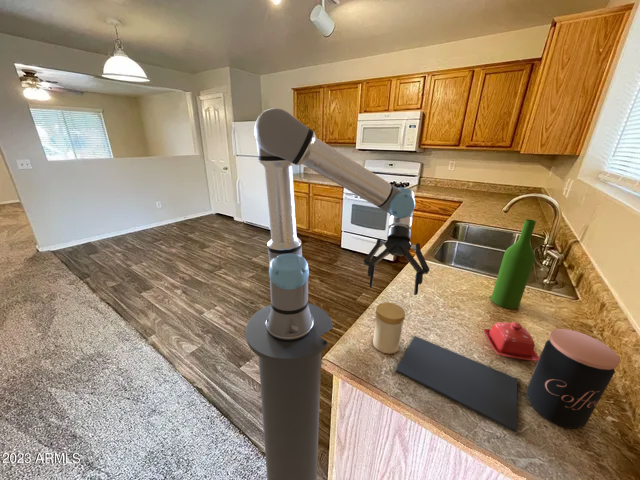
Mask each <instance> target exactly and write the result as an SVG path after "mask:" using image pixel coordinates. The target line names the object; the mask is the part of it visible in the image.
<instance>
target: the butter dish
mask: <svg viewBox="0 0 640 480" xmlns="http://www.w3.org/2000/svg"><path fill="white" fill-rule="evenodd" d="M483 333H484V335H485V336H486V339H487V340H488V342H489V344H490V345H491V347H492V349H493V350H494V351H495V353H496V355H498V356H501V357H506V358H513V359H519V360H525V361H533V362H538V360H539V358H540V355H538V353H537V352H536V350H535V341H534V339H533V337H532V335H531V334H530V332H528V330H527V328H525V327H523V326H522V325H521V323H519V322H516V321H512V322H506V321H505V322H503V321H502V322H501V321H500V322H495V323H494V324H493V325H492V327H491V328H484V329H483Z"/></svg>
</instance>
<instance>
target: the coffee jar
mask: <svg viewBox="0 0 640 480" xmlns="http://www.w3.org/2000/svg"><path fill="white" fill-rule="evenodd" d="M620 363H621V360H620V356H619V355H618V354H617V352H616V351H615V350H613V349H612V348H611V347H609V345H607V344H606V343H604V342H602V341H600V340H598V339H597V338H594V337H592V336H590V335H588V334H585V333H582V332H580V331H577V330H572V329H567V328H556V329H553V330H551V331H550V332H549V336H548V340H546V341H545V344H544V346H543V349H542V351H541V353H540V355H539V360H538V361H537V363H536V365H535V367H534V370H533V373H532V375H531V378H530V380H529V382H528V385H527V387H526V396H527V398H528V401H529V403H530V404H531V406H532V407H533V409H534V410H535V411H536V412H537V413H538V414H539V415H540V416H542V417H543V418H544V419H546V420H548V422H550V423H553V424H555V425H557V426H558V427H562V428H566V429H579V428H582V427H585V426H586V425H587V423H588V421H589V420H590V418H591V416H592V414H593V412H594V411H595V409H596V407H597V405H598V404H599V402H600V400H601V398H602V396H603V394H604V392H605V390H606V389H607V388H608V385H609V383H610V382H611V379H612V378H613V376H614V374H615V372H616V370H615V369H617V367H618V366H619V364H620Z"/></svg>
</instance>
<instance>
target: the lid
mask: <svg viewBox="0 0 640 480" xmlns="http://www.w3.org/2000/svg"><path fill="white" fill-rule="evenodd" d="M376 315H377V317H378V318H379V319H380V320H381V321H383V322H385V323H388V324H399V323H401V322H403V323H404V320H405V319H406V312H405V309H404V308H403V307H402V306H400V304H397V303H394V302H381V303H379V304H378V305H377V306H376V310H375V316H376Z"/></svg>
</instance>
